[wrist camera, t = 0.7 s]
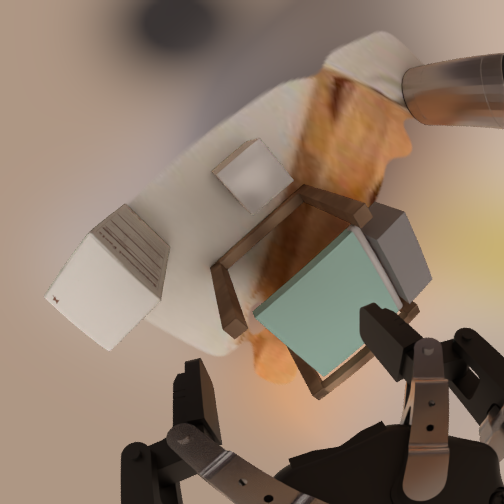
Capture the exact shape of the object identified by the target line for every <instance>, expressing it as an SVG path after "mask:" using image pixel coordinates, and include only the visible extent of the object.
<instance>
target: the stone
mask: <svg viewBox="0 0 504 504" xmlns="http://www.w3.org/2000/svg"><path fill="white" fill-rule="evenodd" d="M212 173H213V174H214V175H215V176H216V177H217V178H218V179H219V180H220V181H221V182H222V184H223V185H224V186H225V187H226V188H227V189H228V190H229V191H230V192H231V194H232V195H233V196H234V197H235V198H236V199H237V200H238V201H239V203H240V204H241V205H242V206H243V207H244V208H245V209H246V210H247V211H248V212H249V213H250V214H251V215H252V216H254V215H255V214H256V213H257V212H258V211H259V210H261V209H262V208H263V207H264V206H265V205H266V204H267V203H269V202H270V201H271V200H272V199H273V198H274V197H275V196H277V195H278V194H279V193H280V192H281V191H282V190H283V189H285V188H286V187H287V186H288V185H289V184H290V183H292V182H293V181H294V180H293V179H292V177H291V176H290V175H289V173H288V172H287V171H286V170H285V168H284V167H283V166H282V165H281V163H280V162H279V161H278V160H277V158H276V157H275V156H274V155H273V153H272V152H271V151H270V150H269V149H268V147H267V146H266V145H265V144H264V143H263V141H262V140H261V139H260V138H258V139H254V140H250V141H246V142H245V143H244V144H243V145H242V146H240V147H239V148H238V149H237V150H236V151H234V152H233V153H232V154H231V155H230V156H229V157H227V158H226V159H225V160H224V161H223V162H222V163H220V164H219V165H218V166H217V167H216V168H215V169H214V170H213V171H212Z"/></svg>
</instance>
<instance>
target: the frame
mask: <svg viewBox="0 0 504 504" xmlns="http://www.w3.org/2000/svg"><path fill="white" fill-rule="evenodd" d="M303 202H305V203H308V204H310V205H312V206H314V207H317V208H319V209H321V210H323V211H325V212H328V213H330V214H332V215H334V216H336V217H338V218H340V219H343V220H345V221H347V222H349V223H351V224H353V225H355V226H357V227H359V228H362V227H363V226H364V225H365V224H366V223H367V222H368V221H370V220H371V219H372V218H373V216H372V214H371V212H370V211H369V209H368V207H367V206H366V204H365V203H362V202H359V201H356V200H353V199H350V198H347V197H344V196H341V195H338V194H335V193H331V192H328V191H325V190H321V189H318V188H315V187H311V186H308V185H303V186H302V187H300V188H299V189H298V190H297V191H296V192H295V193H294V194H292V195H291V196H290V197H289V198H288V199H287V200H286V201H284V202H283V203H282V204H281V205H280V206H279V207H278V208H276V209H275V210H274V211H273V212H272V213H271V214H270V215H268V216H267V217H266V218H265V219H264V220H263V221H262V222H261V223H259V224H258V225H257V226H256V227H255V228H254V229H253V230H252V231H250V232H249V233H248V234H247V235H246V236H245V237H244V238H243V239H241V240H240V241H239V242H238V243H237V244H236V245H235V246H234V247H233V248H231V249H230V250H229V251H228V252H227V253H226V254H225V255H224V256H223V257H221V258H220V259H219V260H218V261H217V262H216V263H215V264H214V265H213V266H211V267H210V269H211V275H212V280H213V285H214V290H215V295H216V300H217V305H218V309H219V314H220V319H221V324H222V328H223V330H224V331H225V332H226V333H228V334H229V335H230V336H231V337H233V338H234V339H236V338H237V337H238V336H240V335H241V334H242V333H243V332H244V331H246V330H247V329H248V327H247V324H246V321H245V318H244V315H243V313H242V310H241V307H240V304H239V301H238V298H237V295H236V292H235V290H234V287H233V284H232V281H231V278H230V275H229V272H228V269H229V268H230V267H231V266H232V265H233V264H234V263H235V262H236V261H238V260H239V259H240V258H241V257H242V256H243V255H244V254H245V253H247V252H248V251H249V250H250V249H251V248H252V247H253V246H254V245H256V244H257V243H258V242H259V241H260V240H261V239H262V238H263V237H265V236H266V235H267V234H268V233H269V232H270V231H271V230H272V229H274V228H275V227H276V226H277V225H278V224H279V223H280V222H281V221H283V220H284V219H285V218H286V217H287V216H288V215H289V214H291V213H292V212H293V211H294V210H295V209H296V208H297V207H298V206H300V205H301V204H302V203H303ZM398 297H399V298H400V300H401V302H402V305H403V306H402V308H401V309H400V310H399V311H400V312H401V313H400V314H399V316H400V318H402V319H403V320H404V321H405V323H407V324H409V323H410V322H411V321H412V320H413V318H415V316H416V315H417V314H418V313H419V312H420V311H419V308H418V306H417V304H416V303H414V302H413V301H412V302H411V303H410V304H409V303H408V302H407V301H405V300H404V299H403V298H401V297H400V296H399V295H398ZM286 346H287V345H286ZM287 348H288V350H289V352H290V353H291V355H292V357H293V359H294V361H295V363H296V365H297V367H298V369H299V371H300V373H301V374H302V376H303V378H304V380H305V382H306V384H307V386H308V388H309V390H310V392H311V394H312V396H314V397H315V398H316V399H318V400H320V399H321V398H323V397H324V396H325V395H327V394H328V393H329V392H331V391H332V390H334V389H335V388H336V387H337V386H339V385H340V384H341V383H342V382H344V381H345V380H346V379H348V378H349V377H350V376H351V375H352V374H354V373H355V372H356V371H357V370H359V369H360V368H361V367H362V366H363V365H364V364H366V363H367V362H368V361H369V360H370V359H372V358H373V357H374V356H375V355H374V354H373V353H372V352H371V351H370V349H369V348H368V347H367V346H365V347H364V348H363V349H362V350H360V351H359V352H358V353H357V354H356V355H355V356H354V357H352V358H351V359H350V360H349V361H348V362H346V363H345V364H344V365H343V366H341V367H340V368H339V369H338V370H336V371H335V372H334V373H333V374H331V375H330V376H329V377H328V378H326V379H325V380H324V381H322V380H321V378H320V376H319V375H318V373H317V371H316V370H315V369H314V368H313V367H311V366H310V365H309V364H308V363H307V362H305V361H304V360H303V359H302V358H301V357H300V356H298V355H297V354H296V353H295V352H294V351H292V350H291V349H290V348H289V347H288V346H287Z"/></svg>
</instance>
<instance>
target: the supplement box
mask: <svg viewBox="0 0 504 504" xmlns="http://www.w3.org/2000/svg"><path fill="white" fill-rule="evenodd" d="M169 250H170V246H169V245H167V244H166V243H165V242H164V241H163V240H162V239H161V238H160V237H159V236H158V235H157V234H156V233H155V232H154V231H153V230H152V229H151V228H150V227H149V226H148V225H147V224H146V223H145V222H144V221H143V220H142V219H141V218H140V217H139V216H138V215H136V214H135V212H133V211H132V210H131V209H130V208H129V207H128V206H127V205H126V204H124V205H122V206H121V207H120V208H119V209H117V210H116V211H115V212H113V213H112V214H111V215H109V216H108V217H107V218H106V219H104V220H103V221H102V222H101V223H99V224H98V225H97V226H96V227H95V228H93V229H92V230H91V231H90V232H89V233H88V234H87V235H86V236H85V238H84V239H83V241H82V242H81V243H80V244H79V246H78V247H77V249H76V250H75V251H74V253H73V254H72V255H71V257H70V258H69V259H68V261H67V262H66V263H65V265H64V266H63V268H62V269H61V270H60V272H59V274H58V275H57V277H56V278H55V280H54V281H53V283H52V284H51V286H50V287H49V289H48V291H47V292H46V293H45V295H44V298H45V299H46V300H48V302H49V303H50V304H51V305H53V306H54V307H55V308H56V309H57V310H58V311H59V312H60V313H61V314H62V315H64V316H65V317H66V318H67V319H68V320H69V321H70V322H72V323H73V324H74V325H75V326H76V327H78V328H79V329H80V330H81V331H82V332H84V333H85V334H86V335H87V336H89V337H90V338H91V339H93V340H94V341H95V342H97V343H98V344H99V345H100V346H102V347H103V348H105V349H106V350H108V351H111V350H112V349H113V348H114V347H115V346H116V345H117V344H118V343H119V342H120V341H121V340H122V339H123V338H124V337H125V336H126V335H127V334H128V333H129V332H130V331H131V330H132V329H133V328H134V327H135V326H136V325H137V324H138V323H139V322H140V321H141V320H142V319H143V318H144V317H145V316H146V315H147V314H148V313H149V312H150V311H151V310H152V309H153V308H154V307H155V306H156V305H157V304H158V303H159V302H160V301H161V297H162V291H163V284H164V279H165V273H166V267H167V261H168V256H169Z"/></svg>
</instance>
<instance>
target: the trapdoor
mask: <svg viewBox="0 0 504 504" xmlns="http://www.w3.org/2000/svg"><path fill="white" fill-rule="evenodd" d="M368 209H369V211H370V212H371V214H372V216H373V218H372V219H371V220H370V221H368V222H367V223H366V224H365V225H364V226H363V227H362V228H359V227H357V226H355V225H353V224H351V225H349V226H348V228H346V229H345V230H344V231H343V232H342V233H341V234H340V235H339V236H338V237H337V238H335V239H334V240H333V241H332V242H331V243H330V244H329V245H328V246H327V247H326V248H325V249H323V250H322V251H321V252H320V253H319V254H318V255H317V256H316V257H315V258H314V259H312V260H311V261H310V262H309V263H308V264H307V265H306V266H305V267H303V268H302V269H301V270H300V271H299V272H298V273H297V274H296V275H294V276H293V277H292V278H291V279H290V280H289V281H288V282H286V283H285V284H284V285H283V286H282V287H281V288H280V289H278V290H277V291H276V292H275V293H274V294H273V295H271V296H270V297H269V298H268V299H267V300H266V301H264V302H263V303H262V304H261V305H260V306H258V307H257V308H256V309H255V310H254V311H253V314H254V317H255V318H256V319H257V320H258V321H259V322H260V323H261V324H262V325H264V326H265V327H266V328H267V329H268V330H269V331H270V332H272V333H273V334H274V335H275V336H276V337H277V338H278V339H280V340H281V341H282V342H283V343H284V344H285V345H287V346H288V347H289V348H290V349H291V350H292V351H294V352H295V353H296V354H297V355H298V356H300V357H301V358H302V359H303V360H304V361H305V362H307V363H308V364H309V365H310V366H311V367H313V368H314V369H315V370H316V371H318V372H319V373H320V374H321V375H322V376H326V375H327V374H328V373H329V372H331V371H332V370H333V369H334V368H336V367H337V366H338V365H339V364H340V363H342V362H343V361H344V360H346V359H347V358H348V357H349V356H350V355H351V354H353V353H354V352H355V351H356V350H357V349H359V348H360V347H361V346H362V345H363V344H364V342H363V341H362V339H361V336H360V332H359V311H360V308H361V307H363V306H366V305H368V304H371V303H373V302H374V303H376V304H377V305H378V306H379V307H380V308H381V309H384V308H387V309H389V310H392V311H394V312H395V313H397V312H398V311H399V310H400V309H401V308H402V306H403V305H402V302H401V300H400V298H399V297H398V295H399V296H400V297H401V298H403V299H404V300H405V301H407V302H408V303H409V304H410V303H411V302H412V301H413V300H414V299H415V298H416V297H417V296H418V294H419V293H420V292H421V291H422V290H423V289H424V288H425V287H426V286H427V285H428V283H429V282H430V281H431V280H432V277H431V274H430V271H429V268H428V266H427V263H426V261H425V258H424V255H423V253H422V250H421V248H420V246H419V243H418V241H417V238H416V236H415V234H414V232H413V229H412V227H411V225H410V222H409V220H408V218H407V216H406V214H405V212H404V211H401V210H398V209H395V208H392V207H389V206H386V205H383V204H380V203H377V202H374V203H373V204H372V205H371V206H370V207H369V208H368Z"/></svg>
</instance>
